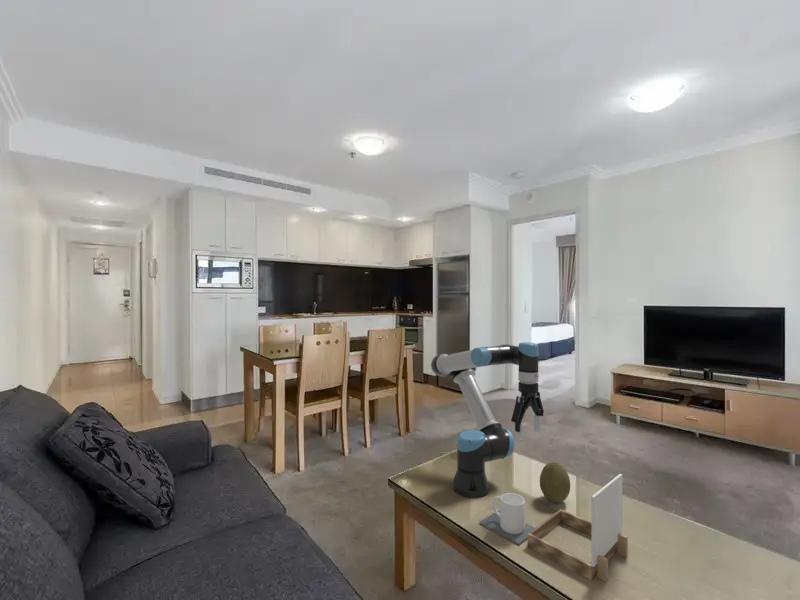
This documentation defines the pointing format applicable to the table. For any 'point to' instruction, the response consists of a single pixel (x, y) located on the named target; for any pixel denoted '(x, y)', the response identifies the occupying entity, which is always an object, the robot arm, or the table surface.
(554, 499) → the fruit
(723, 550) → the table surface
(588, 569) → the frame
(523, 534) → the mat
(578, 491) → the table surface
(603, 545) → the lid
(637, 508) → the table surface
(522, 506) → the cup
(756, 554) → the table surface
